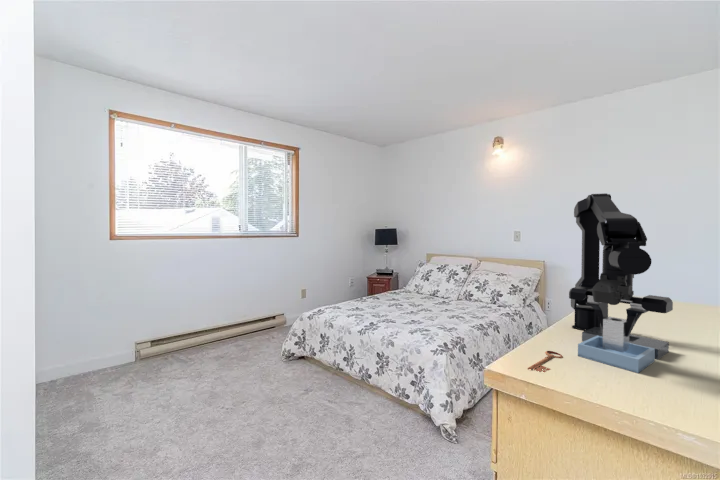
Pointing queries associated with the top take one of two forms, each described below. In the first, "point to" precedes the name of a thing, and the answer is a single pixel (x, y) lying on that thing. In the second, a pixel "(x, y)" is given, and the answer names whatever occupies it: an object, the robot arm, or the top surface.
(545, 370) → the key
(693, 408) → the top surface
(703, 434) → the top surface
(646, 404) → the top surface
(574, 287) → the robot arm
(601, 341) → the parts tray
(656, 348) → the gray square hole plate
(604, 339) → the small speaker box
